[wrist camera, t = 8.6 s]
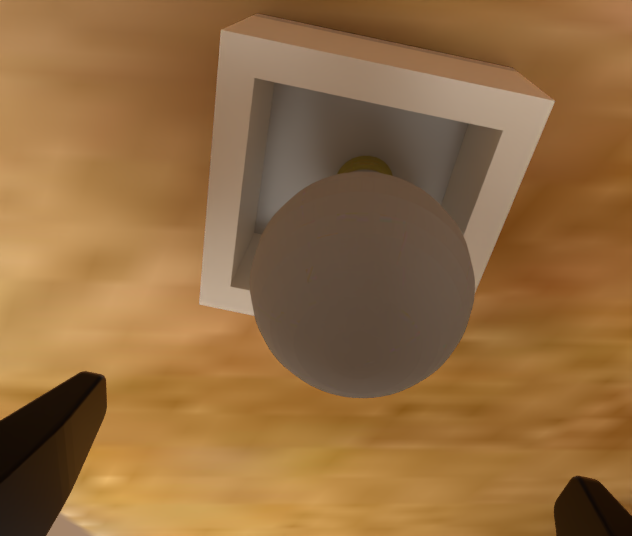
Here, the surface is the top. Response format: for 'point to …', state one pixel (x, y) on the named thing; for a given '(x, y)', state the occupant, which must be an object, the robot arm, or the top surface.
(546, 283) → the top surface
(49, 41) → the top surface
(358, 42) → the white hollow square box
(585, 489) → the robot arm
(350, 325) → the light bulb
